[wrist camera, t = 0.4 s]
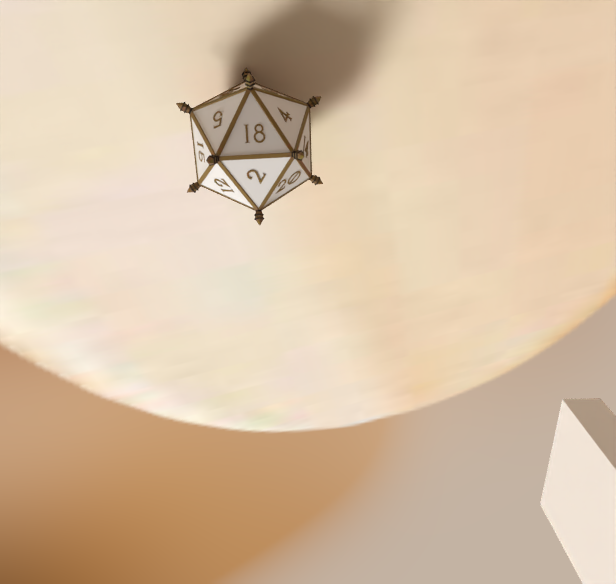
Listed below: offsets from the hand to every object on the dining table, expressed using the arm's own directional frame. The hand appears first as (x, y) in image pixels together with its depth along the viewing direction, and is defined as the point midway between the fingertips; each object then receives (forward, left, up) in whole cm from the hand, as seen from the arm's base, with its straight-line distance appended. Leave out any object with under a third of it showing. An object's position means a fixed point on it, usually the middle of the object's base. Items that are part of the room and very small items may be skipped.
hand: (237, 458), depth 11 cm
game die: (+7, -3, -29) cm, 30 cm away
